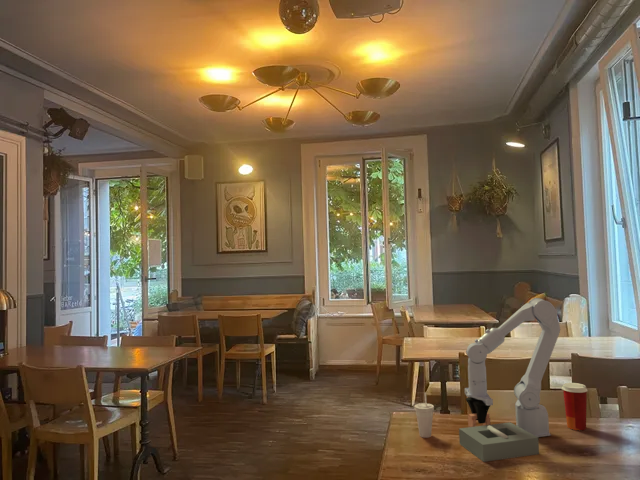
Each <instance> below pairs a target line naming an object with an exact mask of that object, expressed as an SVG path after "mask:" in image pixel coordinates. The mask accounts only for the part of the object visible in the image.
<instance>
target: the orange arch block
mask: <svg viewBox="0 0 640 480" xmlns="http://www.w3.org/2000/svg"><path fill="white" fill-rule="evenodd" d="M475 419H477V413H476V414H472V413H468V417H467V423H468V424H467V426H468V427H476V426H477V420H475ZM484 425H492V424H491V417H490V413H488V412H487V416H486V420H485V423H482V426H484Z"/></svg>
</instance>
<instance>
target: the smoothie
mask: <svg viewBox="0 0 640 480" xmlns="http://www.w3.org/2000/svg"><path fill="white" fill-rule="evenodd" d="M414 410H415V415H416V421H417V427H418V434H419V437H421V438H427V439H428V438H430V437H432V428H433V427H432V426H433V417H434V416H433V415H434V410H435V406H434V405H433V404H432V403H427V392H424V402H420V403H416V404H415V405H414Z"/></svg>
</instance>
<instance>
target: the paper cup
mask: <svg viewBox="0 0 640 480" xmlns="http://www.w3.org/2000/svg"><path fill="white" fill-rule="evenodd" d="M561 390H562V392H563V402H564V411H565V419H566V426H567V428H568V429H569V428H570V430H572V429H573V430H572V431H577V430H579V431H580V430H582V431H585V429H586V430H587V404H588V401H587V400H588V397H587V396H588V393H587V392H588V388H587V386H586V385H585V384H582V383H577V382H566V383H563V385H562V387H561ZM580 432H581V431H580Z"/></svg>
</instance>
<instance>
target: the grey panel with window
mask: <svg viewBox="0 0 640 480" xmlns="http://www.w3.org/2000/svg"><path fill="white" fill-rule="evenodd" d="M458 437H459V441H458V442H459V445H460V446H462V447H463V448H464V449H466V450H467V451H468V452H469V453H471V454H472V455H474V456H475V457H477V458H478V459H479V460H480V461H481V462H483V463H484V462H485V463H486V462H492V461H498V460H506V459H512V458H520V457H526V456H535V455H540V447H539V443H540V442H539V437H536V436H535V435H533V434H531V433H529V432H527V431H525V430H524V429H522V428H520V427H518V426H516V424H515V423H512V422H511V421H510V422H509V421H508V422H501V423H500V422H499V423H493V424H491V425H484V426H483V425H476V427H461V428H460V427H459V428H458Z"/></svg>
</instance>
